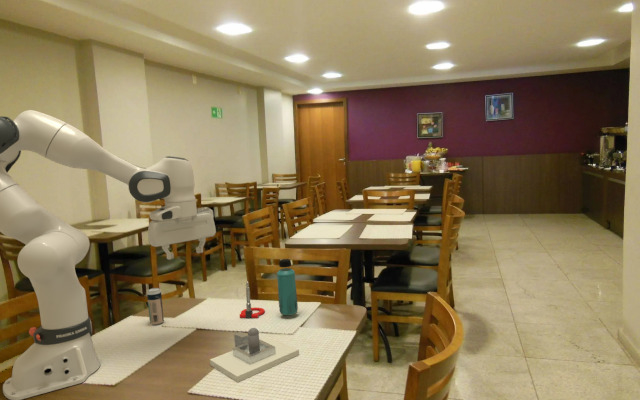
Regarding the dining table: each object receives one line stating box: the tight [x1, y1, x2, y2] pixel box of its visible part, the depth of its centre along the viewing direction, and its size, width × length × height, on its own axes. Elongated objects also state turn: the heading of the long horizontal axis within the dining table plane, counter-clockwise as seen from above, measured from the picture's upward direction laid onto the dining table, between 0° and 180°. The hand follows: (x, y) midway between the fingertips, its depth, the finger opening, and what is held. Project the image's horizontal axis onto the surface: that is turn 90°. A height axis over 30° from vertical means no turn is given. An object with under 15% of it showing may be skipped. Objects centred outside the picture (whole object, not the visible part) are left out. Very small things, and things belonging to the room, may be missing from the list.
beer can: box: [146, 287, 165, 326], centre depth 155 cm, size 5×5×12 cm
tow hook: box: [239, 280, 266, 319], centre depth 160 cm, size 8×13×9 cm
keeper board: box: [209, 327, 300, 383], centre depth 123 cm, size 20×14×9 cm
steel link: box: [232, 331, 276, 364], centre depth 125 cm, size 12×8×4 cm
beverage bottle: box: [276, 258, 299, 316], centre depth 155 cm, size 6×7×20 cm
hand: (185, 255), depth 135 cm, fingers open, 8 cm apart
